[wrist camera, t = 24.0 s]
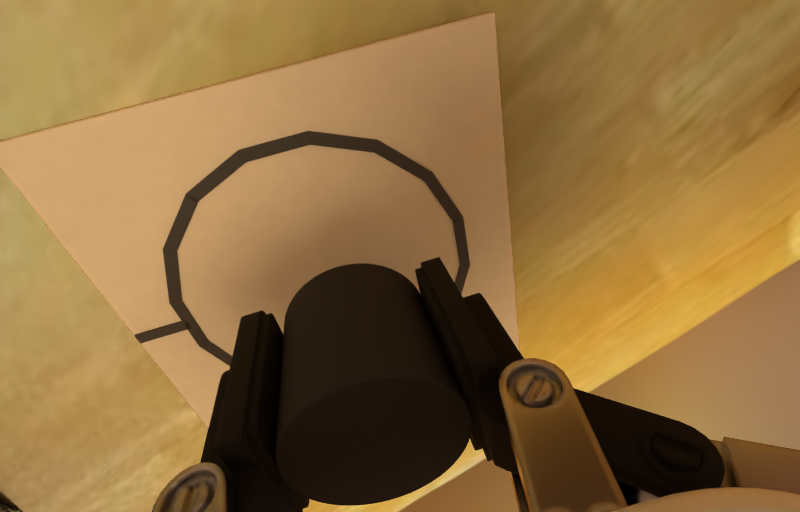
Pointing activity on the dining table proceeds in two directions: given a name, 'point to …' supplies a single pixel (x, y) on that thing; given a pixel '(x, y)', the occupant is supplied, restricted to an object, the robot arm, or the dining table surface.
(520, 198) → the dining table surface
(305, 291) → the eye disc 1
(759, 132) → the dining table surface
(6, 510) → the landscape model
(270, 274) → the drawing pad
